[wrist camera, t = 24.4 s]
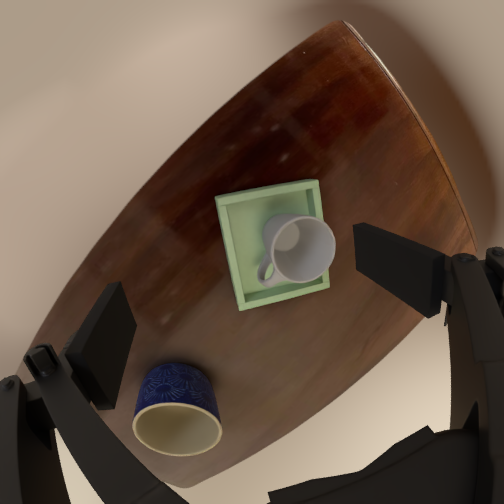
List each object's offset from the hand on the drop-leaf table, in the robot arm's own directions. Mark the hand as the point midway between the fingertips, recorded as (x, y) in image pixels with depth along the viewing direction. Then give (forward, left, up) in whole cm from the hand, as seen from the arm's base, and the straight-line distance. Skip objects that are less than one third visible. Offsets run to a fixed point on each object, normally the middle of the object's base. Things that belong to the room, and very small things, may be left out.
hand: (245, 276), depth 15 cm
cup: (+5, +7, -23) cm, 25 cm away
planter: (+25, -12, -24) cm, 37 cm away
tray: (+5, +7, -24) cm, 25 cm away
